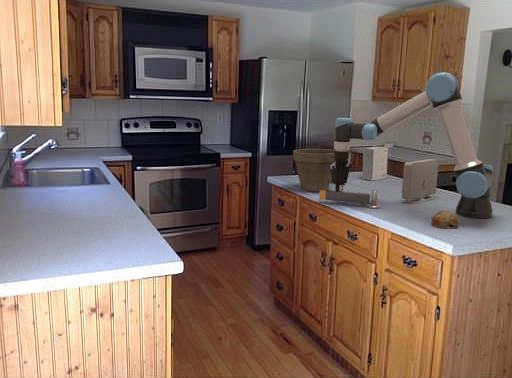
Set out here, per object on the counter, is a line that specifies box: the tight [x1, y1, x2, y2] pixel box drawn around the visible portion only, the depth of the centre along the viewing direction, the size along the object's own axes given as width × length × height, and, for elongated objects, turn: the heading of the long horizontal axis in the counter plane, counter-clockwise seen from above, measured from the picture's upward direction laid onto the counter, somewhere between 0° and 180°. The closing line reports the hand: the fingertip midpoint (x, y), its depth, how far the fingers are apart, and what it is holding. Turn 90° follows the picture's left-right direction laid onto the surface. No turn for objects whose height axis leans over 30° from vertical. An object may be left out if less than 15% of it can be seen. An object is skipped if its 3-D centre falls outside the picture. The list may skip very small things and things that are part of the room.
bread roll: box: [430, 210, 459, 230], centre depth 192 cm, size 10×10×8 cm
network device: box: [401, 158, 440, 204], centre depth 238 cm, size 26×9×20 cm, turn 129°
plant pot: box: [292, 148, 335, 193], centre depth 259 cm, size 25×25×22 cm
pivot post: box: [366, 189, 381, 210], centre depth 221 cm, size 6×6×8 cm
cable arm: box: [319, 189, 372, 205], centre depth 226 cm, size 24×3×5 cm, turn 69°
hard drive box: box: [361, 146, 389, 182], centre depth 295 cm, size 16×8×20 cm, turn 130°
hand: (338, 197), depth 231 cm, fingers closed
